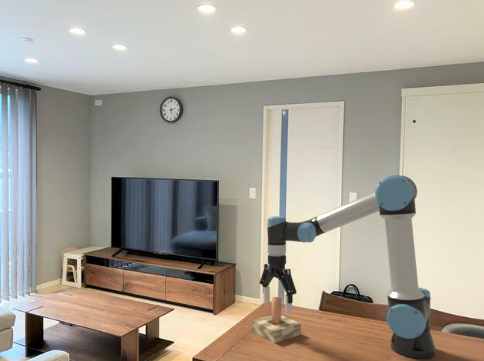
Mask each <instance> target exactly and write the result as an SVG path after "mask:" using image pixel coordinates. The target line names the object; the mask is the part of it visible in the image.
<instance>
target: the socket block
mask: <svg viewBox="0 0 484 361" xmlns="http://www.w3.org/2000/svg"><path fill="white" fill-rule="evenodd" d="M251 328H252V329H251V330H252V332H253V333H255V334H256V335H258V336H261V337H262V338H264V339H266V340H267V341H270V342H271V343H273V344H276V343H279V342H282V341H286V340H289V339H291V338H295V337H298V336H301V335H302V323H301V322H299V321H296V320H293V319H291V318H289V317H287V316H285V315H282V314H281V324H280V325H276V326H275V325H273V324H272V314H271V315H268V316H264V317H260V318H259V317H258V318H256V319H252V327H251Z"/></svg>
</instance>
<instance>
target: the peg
mask: <svg viewBox="0 0 484 361" xmlns="http://www.w3.org/2000/svg"><path fill="white" fill-rule="evenodd" d="M282 302H283V301H282V298H281V297H278V296H276V297H275V296H274V297H271V315H272V324H273V325H275V326H276V325H280V324H281V315H282V311H283V310H282V306H283V305H282Z"/></svg>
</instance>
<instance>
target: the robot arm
mask: <svg viewBox="0 0 484 361" xmlns="http://www.w3.org/2000/svg"><path fill="white" fill-rule="evenodd" d="M417 195H418V188H417V185H416V183H415V182H414V181H413V179H412V178H410V177H408V176H405V175H399V174H391V175H387V176H385V177H383V178H382V179H381V180H380V181H379V182H378V183H377V185H376V187H375V189H374V191H373V192H371V193H368V194H365V195H363V196H361V197H359V198H356V199H354V200H352V201H350V202H347V203H346V204H345V203H344V204H343V205H340V206H338V207H336V208H333V209H331V210H329V211H326V212H324V213H322V214H320V215H317V216H315V217H312V218H310V219H307V220H304V221H300V222H294V221H293V222H291V221H287V218H286V216H279V215H278V216H277V215H274V216H270V217H269V216H268V218H267V227H266V230H267V254H268V255H267V263H265V264H263V271H262V274H261V277H260V280H259V285H262V293H263V304H268V303H270V302H271V288H270V283H271V282H272V281H273V279H274V278H276V279H278V281H280V283H281V286H282V287H283V289H284V292H285V293H286V294H285V299H284V300H285V304H284V305H285V308H284V309H285V312H286V313H289V312H292V311H293V301H294V299H293V296H294V295H296V294H298V293H297V290H296V286H295V284H294V283H295V282H294V280H293V277H292V270H291V268H286V265H287V255H286V253H287V242H297V243H298V242H299V243H303V244H305V243H313V242H314V241H315V239H316V238H317V237H318V236H321V235H323V234H326V233H328V232H331V231H332V230H335V229H337V228H340V227H344V226H345V225H348V224H350V223H352V222H355V221H358V220H361V219H363V218H365V217H368V216H370V215H373V214H375V213H378V212H379V216H380V217H381V218H382V219H383V220H384V225H385V235H386V236H385V237H386V245H387V247H386V248H387V258H388V267H389V268H388V270H389V278H390V287H391V289H390V290H389V291H388V292H387V293H386V296H387V305H388V310H387V312H386V322H387V326H388V327H389V329H390V330H391V332H392V335H391V338H390V349H391V350H393V352H395V353H397V354H398V355H401V356H404V357H408V358H412V359H420V360H421V359H423V360H424V359H425V360H426V359H431V358H434V357H435V355H436V345H435V343H434V339H433V336H432V333H431V300H432V298H431V292H430V290H428V289H426V288H423V287H419V280H418V270H417V269H418V268H417V262H416V261H417V260H416V250H415V238H414V230H413V228H414V227H413V220H412V219H413V217H415V215H416V214H417V212H416V211H417V210H416V198H417Z"/></svg>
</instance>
